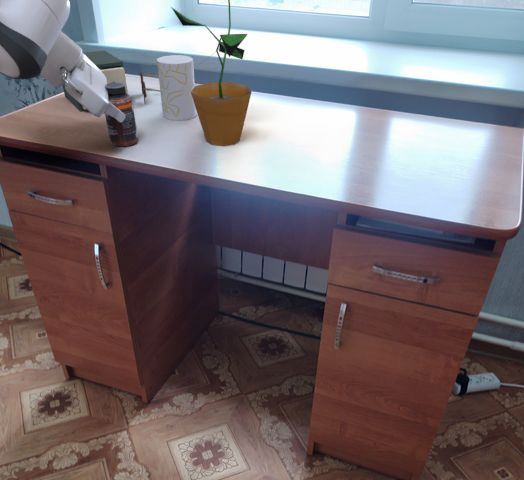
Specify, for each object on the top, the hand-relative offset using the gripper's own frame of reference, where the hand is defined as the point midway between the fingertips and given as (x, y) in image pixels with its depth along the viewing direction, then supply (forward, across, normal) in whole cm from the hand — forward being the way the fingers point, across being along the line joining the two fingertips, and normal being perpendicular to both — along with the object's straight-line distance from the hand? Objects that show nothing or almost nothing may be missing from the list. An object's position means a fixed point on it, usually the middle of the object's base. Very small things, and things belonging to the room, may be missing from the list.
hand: (122, 113), depth 105 cm
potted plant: (+19, -3, -10) cm, 21 cm away
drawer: (0, +27, +7) cm, 28 cm away
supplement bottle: (+4, 0, +5) cm, 6 cm away
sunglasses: (+14, +30, -5) cm, 33 cm away
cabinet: (0, +32, +8) cm, 33 cm away
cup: (+14, +16, -5) cm, 22 cm away
